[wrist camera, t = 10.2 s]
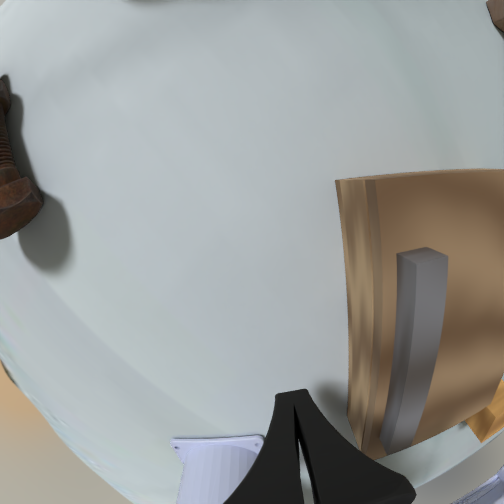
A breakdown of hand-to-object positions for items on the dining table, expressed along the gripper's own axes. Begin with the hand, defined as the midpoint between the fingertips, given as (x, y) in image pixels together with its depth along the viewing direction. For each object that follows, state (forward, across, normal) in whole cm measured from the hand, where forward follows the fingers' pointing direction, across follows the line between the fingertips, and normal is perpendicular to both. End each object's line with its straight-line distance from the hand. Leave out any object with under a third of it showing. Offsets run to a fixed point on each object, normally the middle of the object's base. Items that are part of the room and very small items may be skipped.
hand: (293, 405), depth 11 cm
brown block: (+6, -20, +13) cm, 24 cm away
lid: (+4, -11, 0) cm, 11 cm away
